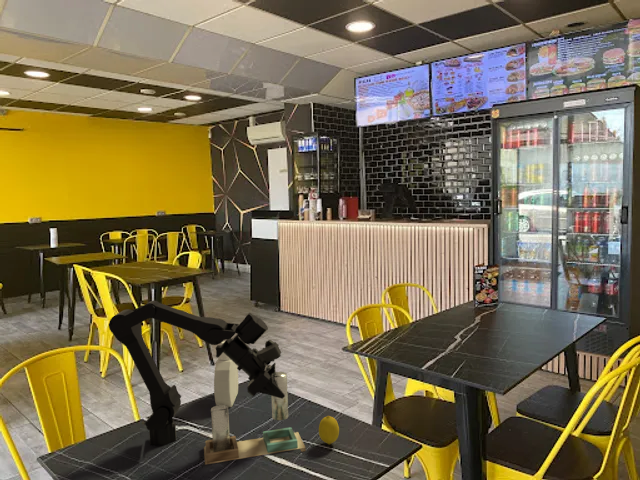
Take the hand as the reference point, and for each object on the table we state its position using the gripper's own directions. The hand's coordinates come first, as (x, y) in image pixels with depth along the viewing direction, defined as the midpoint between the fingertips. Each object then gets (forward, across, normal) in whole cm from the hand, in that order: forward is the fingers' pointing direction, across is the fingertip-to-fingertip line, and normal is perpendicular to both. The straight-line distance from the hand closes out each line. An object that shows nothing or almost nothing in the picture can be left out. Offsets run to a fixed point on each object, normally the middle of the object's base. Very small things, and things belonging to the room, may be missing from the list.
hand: (284, 393), depth 137 cm
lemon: (+18, -3, +1) cm, 18 cm away
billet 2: (+4, 0, +6) cm, 7 cm away
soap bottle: (-5, +28, +25) cm, 38 cm away
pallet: (+4, -5, +15) cm, 17 cm away
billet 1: (-3, -8, +20) cm, 22 cm away
